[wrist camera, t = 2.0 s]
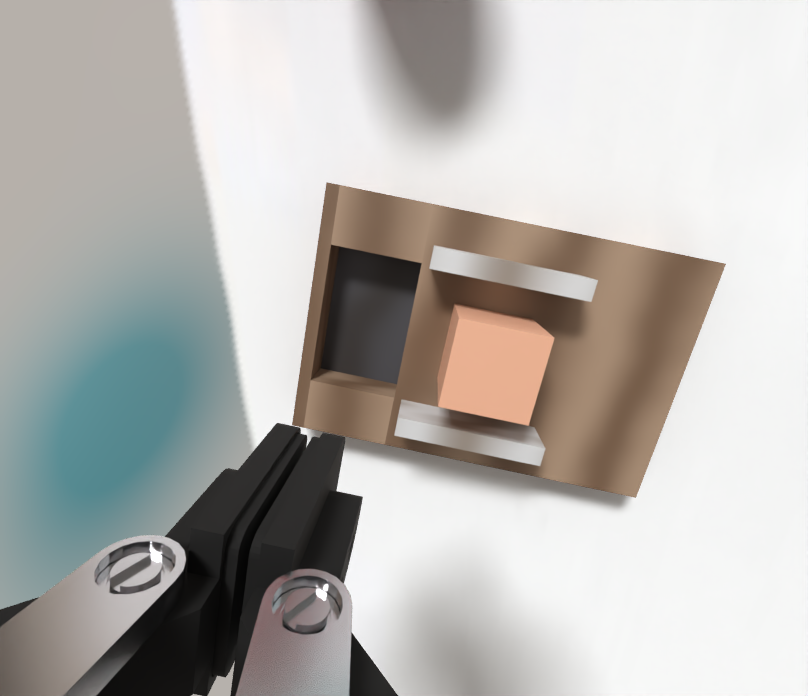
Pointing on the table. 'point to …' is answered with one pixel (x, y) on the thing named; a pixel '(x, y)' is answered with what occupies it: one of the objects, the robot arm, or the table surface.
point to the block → (492, 364)
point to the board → (505, 293)
